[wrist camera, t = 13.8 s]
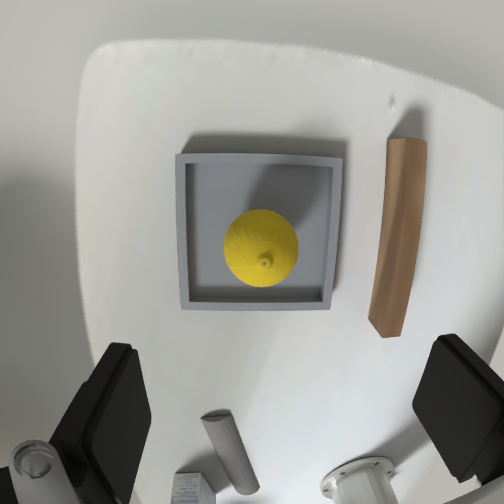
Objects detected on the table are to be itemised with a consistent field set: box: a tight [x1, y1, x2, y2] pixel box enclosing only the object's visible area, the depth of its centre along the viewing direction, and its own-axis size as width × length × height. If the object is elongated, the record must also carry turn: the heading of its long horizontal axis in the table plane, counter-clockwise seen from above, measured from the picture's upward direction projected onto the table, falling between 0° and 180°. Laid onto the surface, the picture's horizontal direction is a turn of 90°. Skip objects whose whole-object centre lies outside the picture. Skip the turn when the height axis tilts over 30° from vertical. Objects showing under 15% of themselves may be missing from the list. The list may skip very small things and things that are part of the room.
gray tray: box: [175, 153, 343, 311], centre depth 27 cm, size 14×14×2 cm
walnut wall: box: [368, 138, 427, 338], centre depth 27 cm, size 2×18×4 cm, turn 179°
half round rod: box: [201, 415, 260, 495], centre depth 37 cm, size 4×20×2 cm, turn 11°
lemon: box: [223, 209, 299, 287], centre depth 24 cm, size 6×6×8 cm
